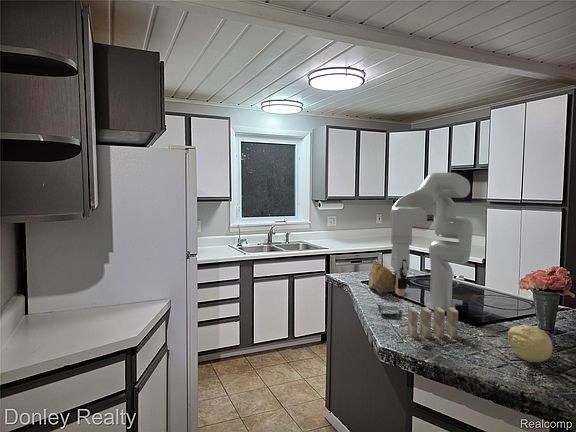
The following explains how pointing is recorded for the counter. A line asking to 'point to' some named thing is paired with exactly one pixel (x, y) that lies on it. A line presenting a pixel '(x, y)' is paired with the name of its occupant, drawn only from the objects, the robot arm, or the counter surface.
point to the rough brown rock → (381, 278)
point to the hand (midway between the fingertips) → (400, 286)
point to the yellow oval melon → (530, 343)
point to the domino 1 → (398, 291)
